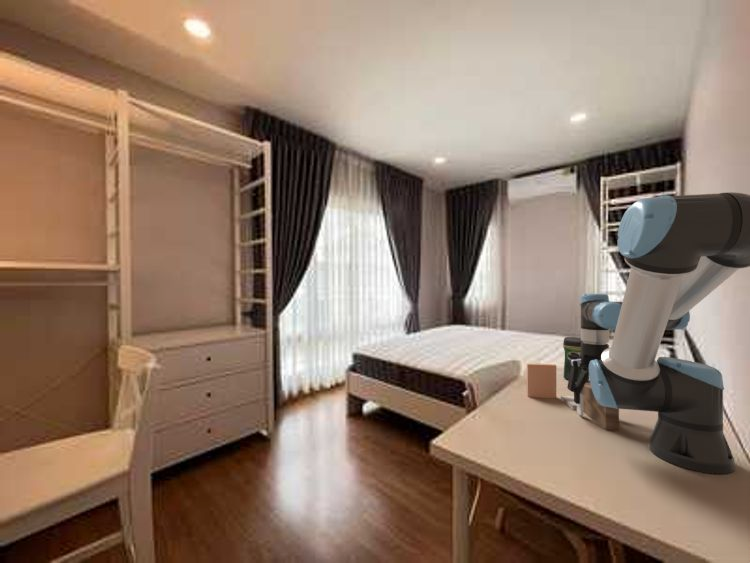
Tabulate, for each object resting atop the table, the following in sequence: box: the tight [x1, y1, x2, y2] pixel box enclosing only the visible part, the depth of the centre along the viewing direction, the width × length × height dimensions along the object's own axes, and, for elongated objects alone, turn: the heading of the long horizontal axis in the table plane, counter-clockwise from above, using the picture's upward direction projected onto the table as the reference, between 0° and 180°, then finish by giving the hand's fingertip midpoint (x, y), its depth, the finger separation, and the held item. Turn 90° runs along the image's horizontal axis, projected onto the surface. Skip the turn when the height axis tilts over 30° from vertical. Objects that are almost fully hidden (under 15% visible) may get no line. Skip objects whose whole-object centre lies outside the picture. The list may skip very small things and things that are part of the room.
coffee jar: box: [562, 336, 590, 383], centre depth 150 cm, size 10×8×19 cm
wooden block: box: [560, 382, 620, 432], centre depth 111 cm, size 26×8×9 cm, turn 172°
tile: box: [526, 363, 557, 399], centre depth 127 cm, size 2×10×12 cm, turn 82°
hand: (594, 414), depth 108 cm, fingers open, 8 cm apart
